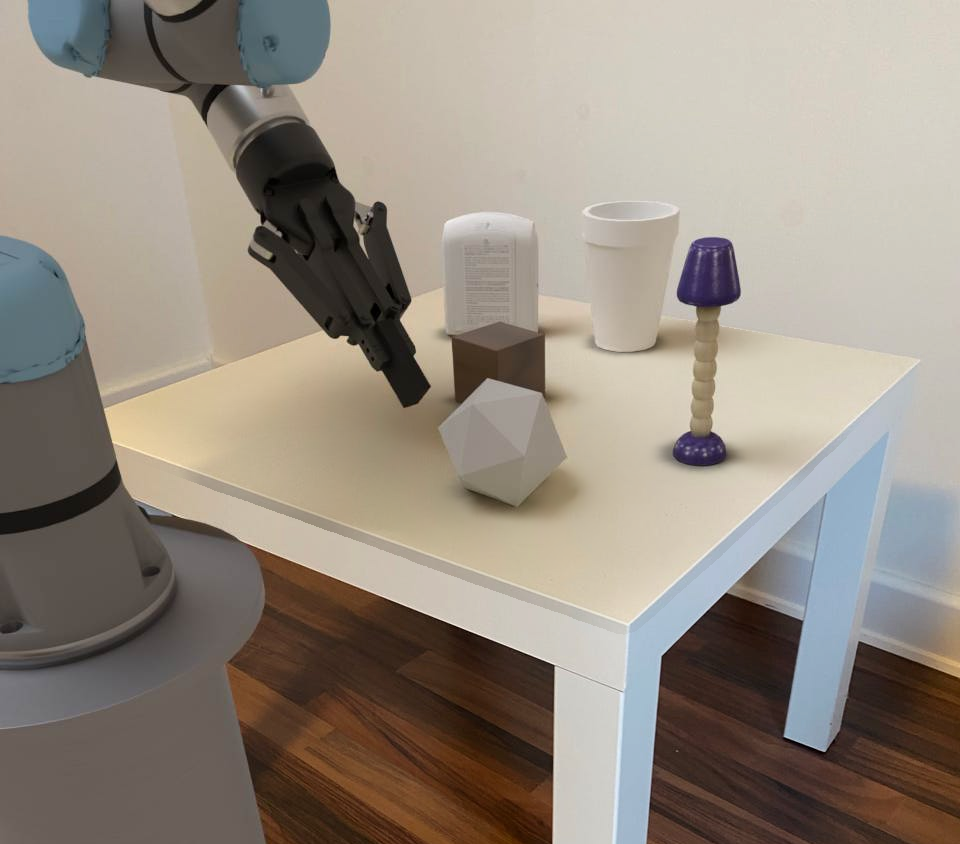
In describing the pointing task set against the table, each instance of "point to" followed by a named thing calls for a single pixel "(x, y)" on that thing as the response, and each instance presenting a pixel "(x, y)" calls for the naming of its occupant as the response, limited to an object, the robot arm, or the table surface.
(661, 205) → the foam cup
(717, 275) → the toy lamp
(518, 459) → the die
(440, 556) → the table surface
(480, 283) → the white boxy piece
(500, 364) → the walnut block
